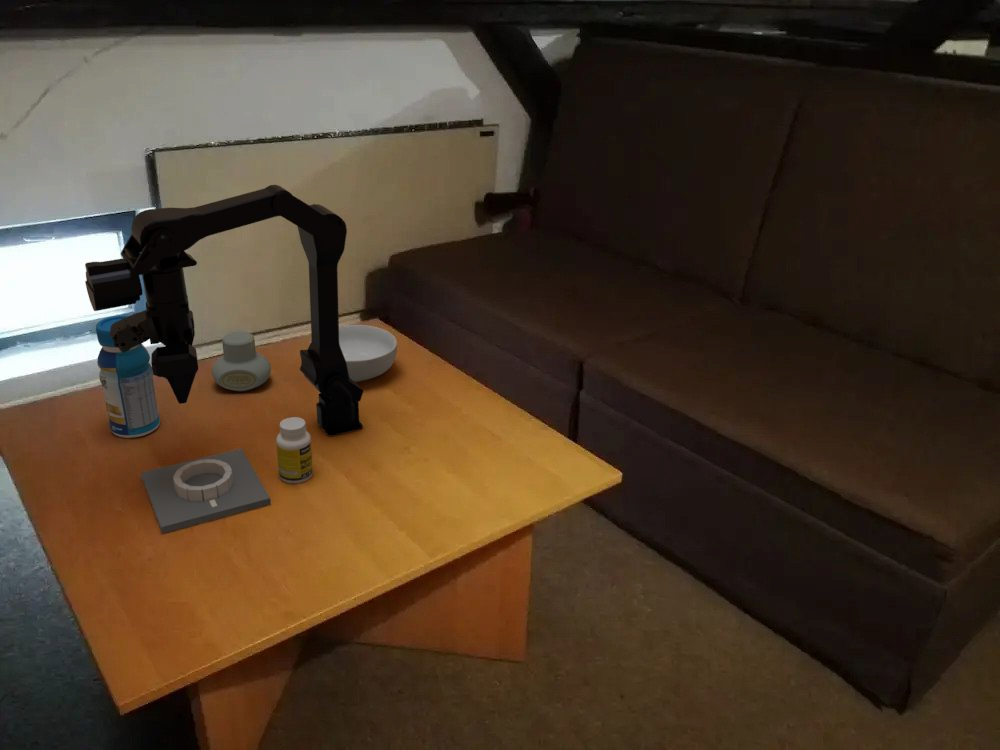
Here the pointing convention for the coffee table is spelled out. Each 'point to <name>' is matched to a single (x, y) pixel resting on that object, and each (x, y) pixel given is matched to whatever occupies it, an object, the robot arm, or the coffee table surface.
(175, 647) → the coffee table surface
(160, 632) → the coffee table surface
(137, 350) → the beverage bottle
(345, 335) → the cereal bowl
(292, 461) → the supplement bottle
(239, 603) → the coffee table surface
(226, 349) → the air freshener
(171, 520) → the mount plate
